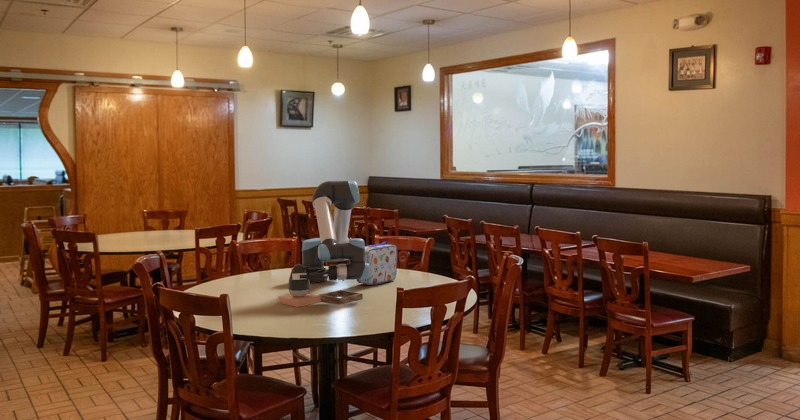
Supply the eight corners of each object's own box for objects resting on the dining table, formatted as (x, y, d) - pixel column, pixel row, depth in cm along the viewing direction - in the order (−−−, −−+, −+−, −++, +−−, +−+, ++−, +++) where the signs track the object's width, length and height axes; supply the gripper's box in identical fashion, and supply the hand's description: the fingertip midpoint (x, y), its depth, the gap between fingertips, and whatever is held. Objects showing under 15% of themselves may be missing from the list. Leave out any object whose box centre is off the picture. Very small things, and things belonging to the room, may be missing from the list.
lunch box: (385, 278, 380) (385, 239, 379) (400, 279, 374) (400, 240, 372) (353, 285, 359) (353, 244, 357) (368, 287, 352) (368, 245, 351)
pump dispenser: (311, 297, 315) (310, 265, 313) (288, 298, 313) (287, 266, 312) (310, 293, 325) (309, 261, 323) (288, 294, 323) (287, 262, 322)
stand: (301, 297, 329) (301, 291, 329) (320, 301, 319) (320, 295, 319) (278, 302, 319) (278, 296, 318) (297, 306, 309) (297, 300, 309)
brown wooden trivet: (341, 294, 335) (341, 289, 335) (362, 298, 325) (362, 293, 325) (318, 299, 324) (318, 294, 324) (339, 304, 314) (339, 298, 314)
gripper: (339, 284, 309) (292, 287, 305) (334, 275, 334) (291, 277, 330) (339, 268, 309) (292, 270, 305) (334, 260, 333) (290, 262, 329)
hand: (291, 274), depth 317 cm, fingers open, 13 cm apart
